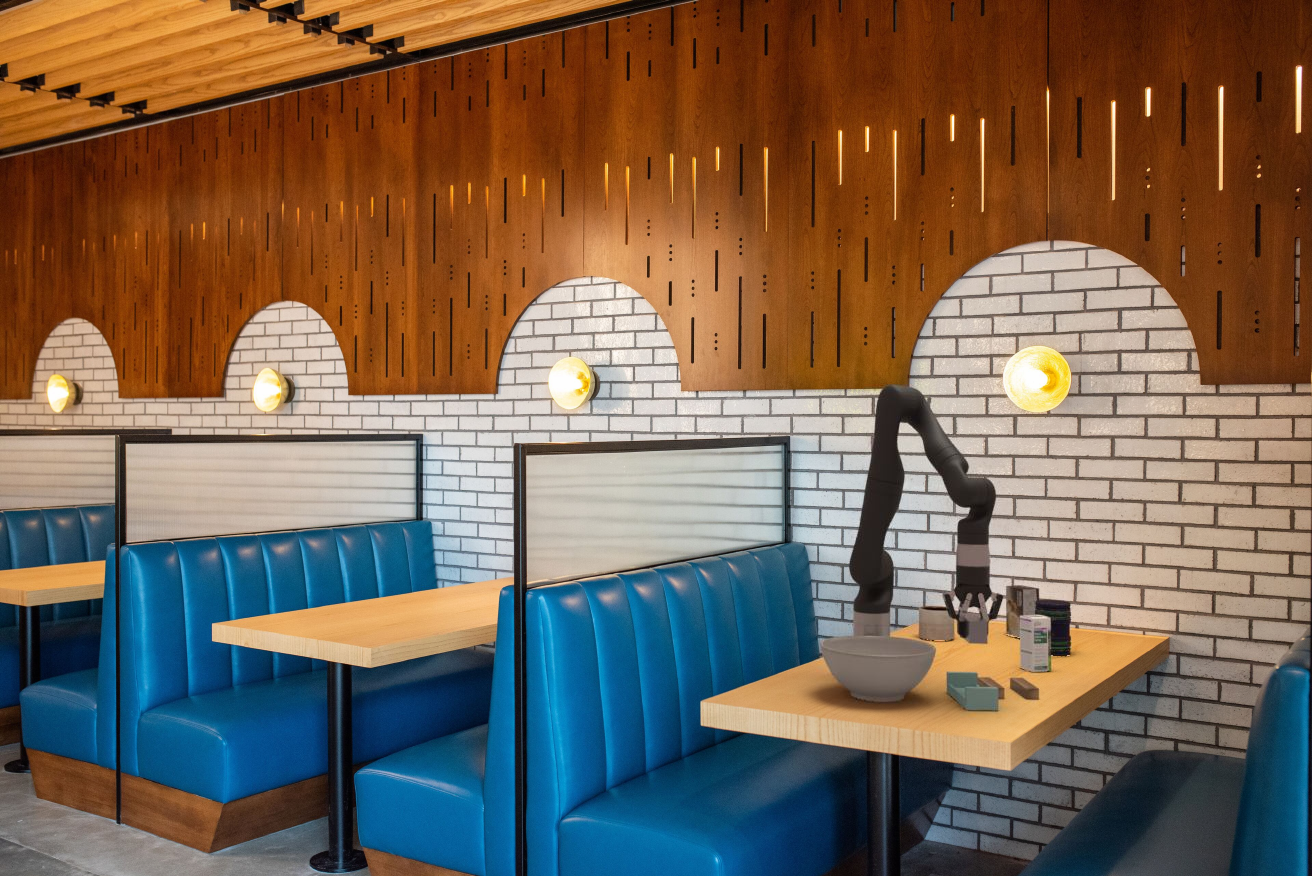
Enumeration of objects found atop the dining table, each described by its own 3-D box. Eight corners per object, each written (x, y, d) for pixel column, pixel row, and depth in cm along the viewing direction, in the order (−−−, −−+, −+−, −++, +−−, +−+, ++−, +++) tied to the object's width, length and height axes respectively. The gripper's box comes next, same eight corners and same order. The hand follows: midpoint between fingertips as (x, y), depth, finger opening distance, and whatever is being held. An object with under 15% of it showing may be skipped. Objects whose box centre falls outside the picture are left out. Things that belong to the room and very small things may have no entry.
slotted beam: (991, 698, 242) (991, 688, 242) (977, 687, 254) (977, 677, 254) (1038, 699, 241) (1038, 688, 241) (1022, 687, 253) (1022, 677, 253)
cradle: (966, 710, 230) (966, 688, 230) (946, 692, 248) (946, 671, 248) (998, 711, 230) (998, 688, 230) (975, 692, 248) (975, 671, 248)
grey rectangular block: (969, 643, 233) (969, 621, 233) (958, 634, 245) (958, 613, 245) (987, 643, 232) (987, 621, 232) (975, 634, 244) (975, 613, 244)
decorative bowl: (957, 697, 243) (957, 645, 244) (894, 716, 225) (894, 660, 225) (862, 679, 263) (862, 631, 263) (797, 695, 244) (797, 644, 244)
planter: (917, 640, 319) (917, 609, 319) (919, 635, 329) (919, 605, 329) (954, 642, 316) (954, 611, 316) (954, 637, 326) (954, 606, 326)
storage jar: (1036, 656, 295) (1036, 603, 295) (1032, 650, 305) (1032, 599, 305) (1073, 657, 293) (1073, 605, 293) (1068, 651, 302) (1068, 600, 303)
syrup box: (1033, 673, 271) (1032, 617, 272) (1019, 668, 277) (1019, 614, 277) (1051, 671, 273) (1051, 617, 273) (1037, 667, 279) (1037, 613, 279)
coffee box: (1040, 639, 322) (1040, 588, 323) (1023, 640, 320) (1023, 588, 321) (1021, 634, 331) (1021, 584, 331) (1005, 635, 329) (1005, 585, 329)
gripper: (998, 562, 242) (998, 635, 242) (937, 561, 243) (937, 634, 242) (1008, 565, 235) (1008, 640, 234) (946, 564, 235) (945, 640, 235)
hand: (972, 637), depth 238 cm, fingers closed on grey rectangular block, 4 cm apart
